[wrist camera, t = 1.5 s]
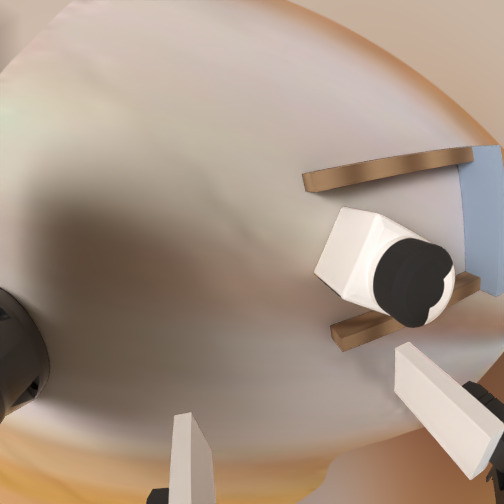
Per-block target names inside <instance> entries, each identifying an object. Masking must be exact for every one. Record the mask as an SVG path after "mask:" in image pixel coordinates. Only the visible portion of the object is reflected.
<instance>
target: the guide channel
mask: <svg viewBox="0 0 504 504" xmlns="http://www.w3.org/2000/svg"><path fill="white" fill-rule="evenodd" d="M471 161H474V156H473V150H472V147H459V148H449V149H441V150H434V151H427V152H420V153H413V154H406V155H400V156H394V157H388V158H382V159H376V160H370V161H365V162H359V163H354V164H349V165H343V166H338V167H333V168H328V169H323V170H318V171H313V172H309V173H304V174H302V177H303V181H304V186H305V190H306V191H310V192H320V191H324V190H328V189H333V188H337V187H342V186H346V185H351V184H356V183H360V182H365V181H370V180H375V179H379V178H384V177H389V176H394V175H399V174H404V173H409V172H415V171H420V170H425V169H431V168H436V167H442V166H447V165H453V164H459V163H465V162H471ZM480 285H481V278H480V277H478V276H475V275H473V274H471V273H468V272H466V271H465V272H463V273H461V274H459V275H457V276H455V283H454V289H453V292H452V295H451V298H450V300H449V302H448V304H447V306H446V307H448V306H450V305H452V304H454V303H456V302H458V301H460V300H462V299H464V298H466V297H467V296H469V295H471V294H473V293H475V292H477V291H479V290H480ZM446 307H445V308H446ZM404 327H406V326H404V325H402V324H401V323H399V322H398V321H397V320H395V319H394V318H393V317H391V316H389V315H386V314H384V313H381V312H378V311H375V310H373V311H370V312H367V313H365V314H362V315H359V316H357V317H354V318H351V319H348V320H345V321H342V322H340V323H337V324H334V325H331V326H330V328H331V335H332V339H333V340H334V341H335V343H336V344H337V345H338V347H339V348H340V349H341V350H342V352H344V351H347V350H349V349H352V348H355V347H357V346H360V345H362V344H365V343H368V342H370V341H373V340H375V339H378V338H380V337H382V336H385V335H387V334H390V333H392V332H394V331H397V330H399V329H401V328H404Z"/></svg>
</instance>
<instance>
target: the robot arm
mask: <svg viewBox="0 0 504 504" xmlns="http://www.w3.org/2000/svg"><path fill="white" fill-rule="evenodd" d="M48 376H49V359H48V354H47V350H46V347H45V344H44V342H43V339H42V337H41V335H40V333H39V331H38V329H37V327H36V325H35V324H34V322H33V320H32V319H31V317H30V316H29V315H28V313H27V312H26V311H25V310H24V308H23V307H22V306H21V305H20V304H19V303H18V302H17V301H16V300H15V299H14V298H13V297H12V296H10V295H9V294H8V293H6V292H5V291H3V290H2V289H0V423H1V422H2V420H3V419H4V418H5V416H7V415H8V414H10V413H12V412H14V411H15V410H17V409H19V408H21V407H23V406H24V405H26V404H28V403H30V402H31V401H33V400H34V399H35V398H36V397H37V396H38V395H39V393H40V392H41V390H42V389H43V387H44V386H45V384H46V382H47V380H48ZM394 392H395V393H396V394H397V395H398V396H399V397H400V399H401V400H402V401H403V402H404V403H405V404H406V406H407V407H408V408H409V409H410V410H411V411H412V412H413V414H414V415H415V416H416V417H417V418H418V419H419V421H420V422H421V423H422V424H423V425H424V426H425V428H426V429H427V430H428V431H429V432H430V433H431V434H432V435H433V437H434V438H435V439H436V440H437V442H438V443H439V444H440V445H441V446H442V447H443V449H444V450H445V451H446V452H447V453H448V454H449V456H450V457H451V458H452V459H453V460H454V462H455V463H456V464H457V465H458V466H459V467H460V468H461V470H462V471H463V472H464V473H465V475H466V476H467V477H468V478H469V479H470V480H471V479H472V478H474V477H475V476H476V475H478V474H479V473H480V472H482V471H483V470H484V469H485V468H486V466H487V464H488V462H489V461H490V462H491V463H492V464H493V466H492V468H491V470H490V471H489V473H488V475H487V477H486V482H488V481H489V480H490V478H491V476H492V477H493V478H492V480H493V483H494V490H495V497H496V504H504V404H503V403H502V402H500V401H499V400H498V399H497V398H494V396H493V395H492V394H491V393H488V391H487V390H486V389H485V388H483V387H482V386H481V385H479V384H476V383H474V382H471V381H469V382H467V383H466V384H464V385H462V386H461V385H459V384H458V383H457V382H456V381H455V380H454V379H453V378H451V377H450V376H449V375H448V374H447V373H446V372H444V371H443V370H442V369H441V368H440V367H438V366H437V365H436V364H435V363H434V362H433V361H431V360H430V359H429V358H428V357H427V356H425V355H424V354H423V353H422V352H421V351H419V350H418V349H417V348H416V347H415V346H414V345H412V344H411V343H410V342H407V343H405V344H403V345H400V346H398V347H396V348H395V389H394ZM146 504H216V497H215V486H214V473H213V460H212V450H211V448H210V447H209V445H208V443H207V441H206V439H205V437H204V436H203V434H202V432H201V430H200V428H199V426H198V424H197V422H196V420H195V418H194V416H193V414H192V412H190V413H184V414H179V415H174V425H173V437H172V450H171V465H170V483H169V488H160V489H153V490H152V491H151V493H150V495H149V497H148V498H147V503H146Z"/></svg>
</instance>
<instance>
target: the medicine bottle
mask: <svg viewBox="0 0 504 504" xmlns="http://www.w3.org/2000/svg"><path fill="white" fill-rule="evenodd" d="M314 274H315V275H316V276H317V277H318V278H319V279H320V280H321V281H323V282H324V283H325V284H326V285H327V286H328V287H329V288H331V289H332V290H333V291H334V292H335V293H336V294H337V295H339V296H340V297H341V298H342V299H343V300H346V301H349V302H352V303H355V304H358V305H360V306H363V307H366V308H369V309H372V310H375V311H378V312H381V313H384V314H386V315H389V316H391V317H393V318H394V319H395V320H397V321H398V322H399V323H401V324H402V325H404V326H406V327H411V328H414V327H420V326H423V325H426V324H428V323H430V322H431V321H433V320H434V319H436V318H437V317H438V316H439V315H440V314H441V313H442V311H443V310H444V309H445V307H446V306H447V304H448V302H449V300H450V298H451V295H452V292H453V289H454V283H455V271H454V266H453V262H452V259H451V257H450V255H449V254H448V252H447V251H446V250H445V249H443V248H442V247H440V246H438V245H435V244H433V243H431V242H429V241H428V240H426V239H424V238H423V237H421V236H419V235H417V234H416V233H414V232H412V231H410V230H409V229H407V228H405V227H403V226H402V225H400V224H398V223H396V222H394V221H393V220H391V219H389V218H387V217H385V216H384V215H382V214H379V213H374V212H369V211H365V210H360V209H355V208H350V207H345V206H344V207H342V208H341V209H340V212H339V214H338V217H337V219H336V222H335V224H334V226H333V229H332V231H331V234H330V236H329V238H328V241H327V243H326V245H325V248H324V250H323V252H322V255H321V257H320V259H319V262H318V264H317V266H316V268H315V271H314Z"/></svg>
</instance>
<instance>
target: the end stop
mask: <svg viewBox="0 0 504 504" xmlns="http://www.w3.org/2000/svg"><path fill="white" fill-rule="evenodd" d="M466 147H472V150H473V156H474V161H471V162H465V163H459V164H458V171H459V178H460V186H461V194H462V204H463V216H464V231H465V271H466V272H468V273H471V274H473V275H475V276H478V277H480V278H481V285H480V290H482V291H484V292H487V293H489V294H491V295H493V296H495V297H497V296H499V295H501V294H502V293H504V170H503V162H502V155H501V148H500V145H486V146H466ZM457 148H459V147H457Z"/></svg>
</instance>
